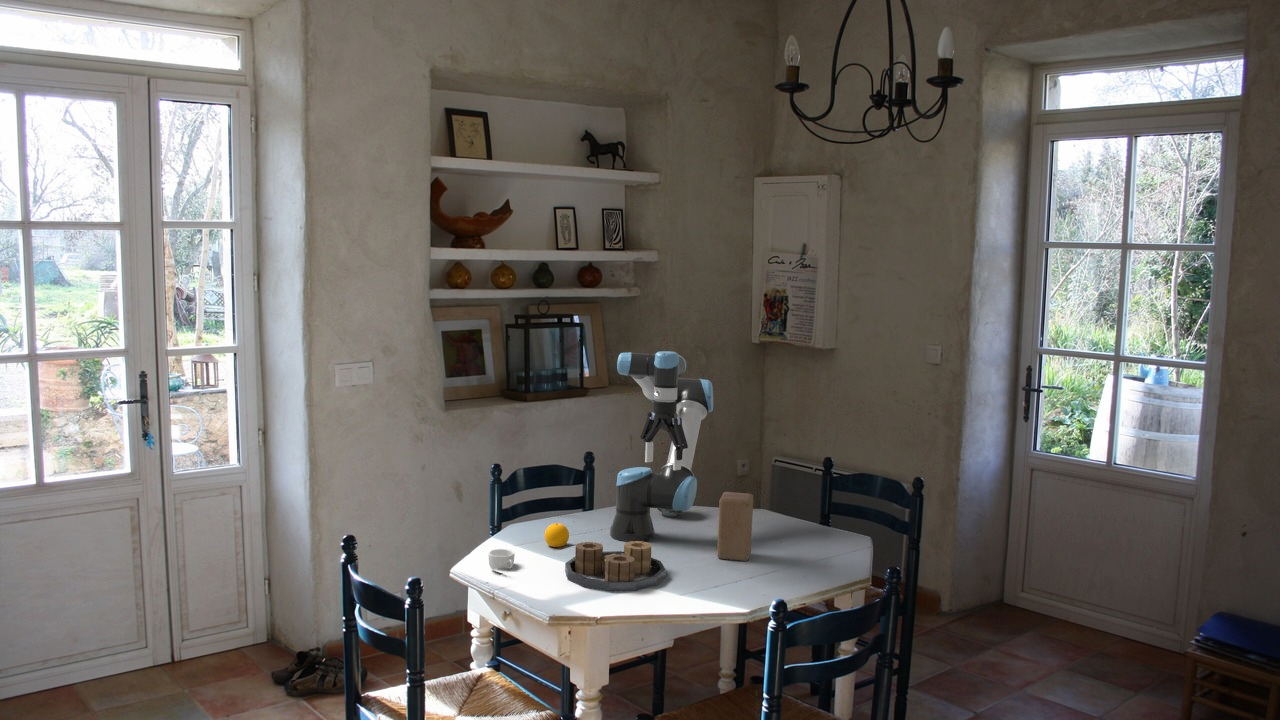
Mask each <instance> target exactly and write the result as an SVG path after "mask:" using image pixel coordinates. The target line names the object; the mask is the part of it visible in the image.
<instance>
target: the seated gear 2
mask: <svg viewBox="0 0 1280 720" xmlns="http://www.w3.org/2000/svg"><path fill="white" fill-rule="evenodd" d="M634 569H635V559H634V558H633V557H632V556H629V555H623V554H622V555H620V554H616V555H609V556H608V557H606V559H605V581H634Z"/></svg>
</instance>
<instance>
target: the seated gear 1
mask: <svg viewBox="0 0 1280 720" xmlns="http://www.w3.org/2000/svg"><path fill="white" fill-rule="evenodd" d="M603 552H604V547H603V544H602V543H599V542H593V541H584V542H583V541H581V542H579V543H576V544H575V553H574V554H575V556H574V557H575V572H576V573H580V574H585V575H593V574H598V573H601V572H602V560H603Z"/></svg>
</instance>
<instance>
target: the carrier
mask: <svg viewBox="0 0 1280 720" xmlns="http://www.w3.org/2000/svg"><path fill="white" fill-rule="evenodd" d="M616 554H620V555H622V554H623V555H624V550H620V551H619V550H618V551H617V550H615V551H611V550H609V551H603V560H602V572H601V573H598V574H593V575H585V574H580V573H576V572H575V556H573V557H572V558H571V559H569V560H568V561H566V562H565V563H564V565H565V566H564V572H565V577H566V578H567V581H569V582H571V583H573V584H575V585H577V586H580V587H581V588H583V589H590V590H596V591H601V592H602V591H603V592H607V593H608V592H636V591H641V590H645V589H649V588H653V587H657V586H658V585H659V584H660V583H661V582H663V580H664V579H665V578H666V567H665V566H664V564H663V563H662V562H661V560H659V559H656V558H654V557H651V569H650V571H649V572H647V573H643V574H642V573H640V574H636V573H634V581H605V559H606V557H608V556H609V555H616Z"/></svg>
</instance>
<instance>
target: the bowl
mask: <svg viewBox="0 0 1280 720" xmlns="http://www.w3.org/2000/svg"><path fill="white" fill-rule="evenodd" d="M656 509H657V510H658V512H660V513H661V516H663V517H666V518H675V517H678V516H679V514H680V513H682V512H683V511H681V510H678V511H674V510H669V509H659V508H656Z"/></svg>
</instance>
